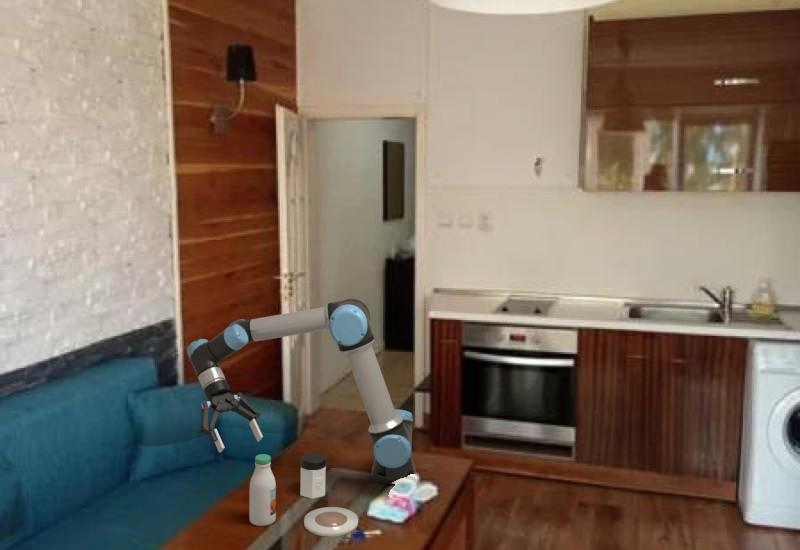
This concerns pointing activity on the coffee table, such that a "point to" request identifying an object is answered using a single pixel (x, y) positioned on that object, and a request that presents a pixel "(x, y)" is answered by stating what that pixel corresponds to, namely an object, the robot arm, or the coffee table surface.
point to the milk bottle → (262, 493)
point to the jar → (313, 475)
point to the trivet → (331, 521)
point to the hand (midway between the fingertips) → (241, 444)
